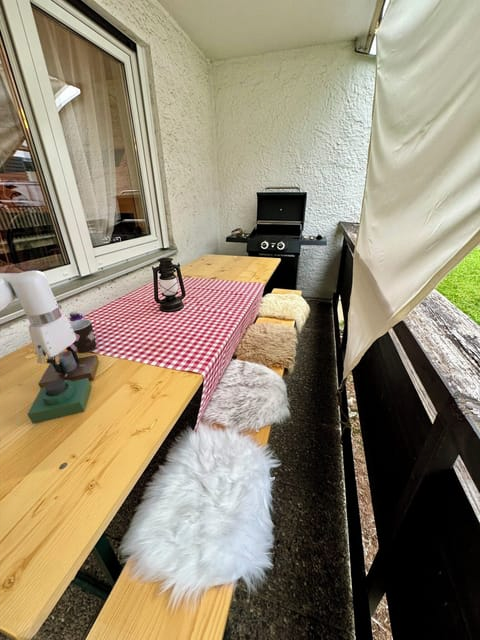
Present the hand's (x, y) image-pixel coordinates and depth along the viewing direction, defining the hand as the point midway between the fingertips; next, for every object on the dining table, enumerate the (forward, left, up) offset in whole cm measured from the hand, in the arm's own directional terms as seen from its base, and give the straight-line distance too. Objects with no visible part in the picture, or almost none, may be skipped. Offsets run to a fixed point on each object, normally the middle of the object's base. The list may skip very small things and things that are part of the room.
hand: (68, 366), depth 81 cm
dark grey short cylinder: (+1, -13, +2) cm, 13 cm away
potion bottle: (-1, +23, -4) cm, 23 cm away
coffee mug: (0, +15, -4) cm, 15 cm away
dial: (0, 0, 0) cm, 0 cm away
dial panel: (0, 0, -4) cm, 4 cm away
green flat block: (+1, -13, -4) cm, 13 cm away
